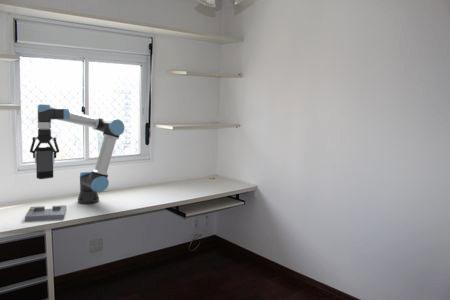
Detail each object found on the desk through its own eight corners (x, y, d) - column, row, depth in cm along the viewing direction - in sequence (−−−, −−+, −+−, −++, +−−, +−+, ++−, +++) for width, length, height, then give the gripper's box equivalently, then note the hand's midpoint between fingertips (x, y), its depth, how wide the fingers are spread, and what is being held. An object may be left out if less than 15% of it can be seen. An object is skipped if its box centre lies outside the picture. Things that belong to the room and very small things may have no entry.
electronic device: (50, 176, 250) (49, 146, 248) (54, 177, 246) (54, 147, 244) (35, 178, 243) (35, 147, 241) (39, 179, 239) (39, 148, 237)
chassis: (66, 209, 260) (66, 204, 259) (63, 219, 239) (63, 213, 239) (30, 211, 253) (30, 205, 252) (25, 221, 232) (24, 215, 232)
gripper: (64, 128, 248) (64, 162, 250) (26, 127, 241) (26, 162, 244) (62, 129, 240) (62, 164, 243) (23, 128, 234) (24, 164, 236)
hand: (44, 163), depth 243 cm, fingers closed on electronic device, 10 cm apart
